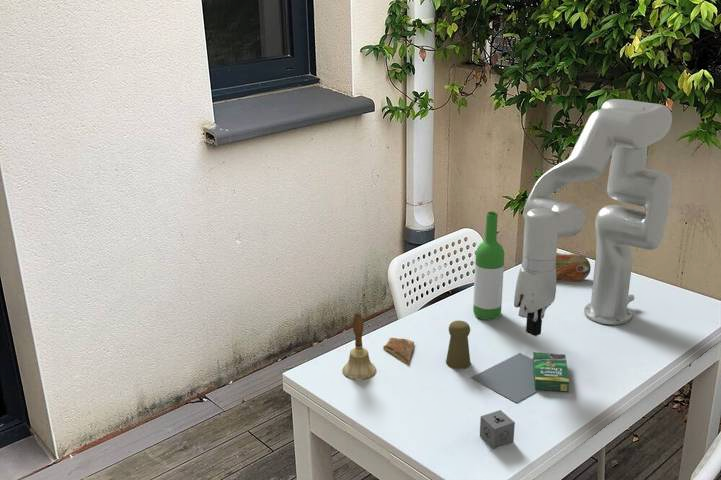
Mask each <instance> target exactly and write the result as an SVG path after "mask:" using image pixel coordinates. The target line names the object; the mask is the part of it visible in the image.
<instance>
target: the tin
mask: <svg viewBox="0 0 721 480" xmlns="http://www.w3.org/2000/svg"><path fill="white" fill-rule="evenodd" d="M555 267H556V281H561V282H562V281H563V282H564V281H565V282H580V281H583V280H585V279H586V278H588V276H589V275H590V273H591V263H590V261H589V260H588V258H587V257H586V256H585V255H583V254H581V253H576V252H575V253H573V252H572V253H569V252H566V253H565V252H557V255H556V266H555Z"/></svg>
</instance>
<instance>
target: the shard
mask: <svg viewBox="0 0 721 480" xmlns="http://www.w3.org/2000/svg"><path fill="white" fill-rule="evenodd" d="M414 345H415V341H413V340H410V339H407V338H406V339H405V338H397V337H389V338H388V341H387V342H386V343H385V345H383V346H382V349H383V350H385V351H386V352H388V353H391V354H392V355H393V356H394V355H395V356H394V357H396V358H397V359H398V358H399V359H398V360H400V361H401V360H402V361H401V362H403V363H405V364H407V365H409V363H410V360H411V359H410V358H411V355H412V352H413V349H414Z"/></svg>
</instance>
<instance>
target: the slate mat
mask: <svg viewBox="0 0 721 480" xmlns="http://www.w3.org/2000/svg"><path fill="white" fill-rule="evenodd" d="M470 379H471V380H473V381H475V382H477V383H479V384H480V385H481V386H482V385H483V386H484V387H486V388H488V389H490V390H491V391H494V393H497V394H499V395H500V396H502V397H504V398H506V399H508V400H509V401H512V402H513V403H515V404H518V403H520V402H522V401H523V400H525V399H527V398H528V397H531V396H532V395H534V394H536V393H537V392H539V391H541V389H535V386H534V373H533V357H532V358H531V357H529V356H527V355H525V354H523V353H521V352H519V353H517V354H515V355H513V356H510V357H509V358H507V359H504V360H503V361H501V362H499V363H497V364H495V365H493V366H490V367H489V368H487V369H485V370H483V371H481V372H479V373H477V374H475V375H473V376H471V377H470Z"/></svg>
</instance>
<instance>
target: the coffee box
mask: <svg viewBox="0 0 721 480" xmlns="http://www.w3.org/2000/svg"><path fill="white" fill-rule="evenodd" d="M532 359H533V373H534V386H535V389H541V390H542V391H543V390H545V391H559V392H570V377H569V371H568V365H567V357H566V354H562V353H561V354H559V353H549V352H537V351H533V353H532ZM541 390H540V391H541Z"/></svg>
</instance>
